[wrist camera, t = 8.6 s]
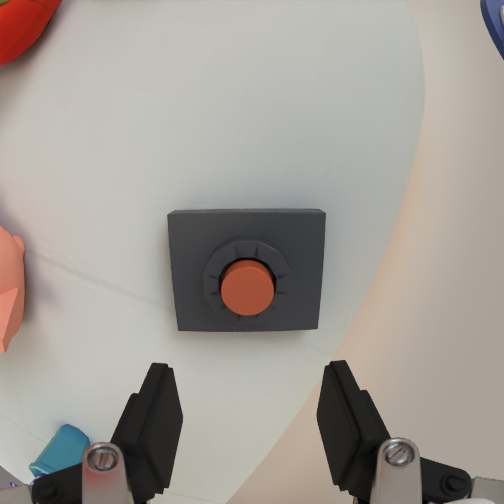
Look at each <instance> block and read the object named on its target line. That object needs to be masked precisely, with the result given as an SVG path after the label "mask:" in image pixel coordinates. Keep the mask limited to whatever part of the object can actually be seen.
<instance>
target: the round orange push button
mask: <svg viewBox="0 0 504 504" xmlns="http://www.w3.org/2000/svg"><path fill="white" fill-rule="evenodd" d="M273 295H274V287H273V282H272V278H271V275H270V273H269V271H268V270H267V268H266V267H265V266H264V265H262V264H261V263H259V262H257V261H253V260H242V261H238V262H236V263H234V264H232V265H231V266H230V267H229V268H228V269H227V271H226V272H225V274H224V277H223V281H222V286H221V296H222V299H223V301H224V303H225V305H226V306H227V307H228V308H229V309H230V310H232V311H233V312H235V313H237V314H240V315H255V314H258V313H260V312H262V311H263V310H265V309H266V308H267V307H268V306H269V304H270V303H271V301H272V299H273Z"/></svg>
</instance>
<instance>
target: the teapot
mask: <svg viewBox="0 0 504 504" xmlns="http://www.w3.org/2000/svg"><path fill="white" fill-rule="evenodd" d="M24 253H25V247H24V243H23V241H22V239H21V238H20V237H19V236H17V235H15V236H12V235H11V234H10V233H9V232H8V231H7V230H6V229H5V228H3V227H2V226H1V225H0V351H1V352H3V353H5V352H6V350H7V347H8V345H9V342H10V340H11V337H13V336H14V335H15V334H16V333H17V332H18V330H19V328H20V325H21V321H22V318H23V313H24V294H25V286H24V264H23V256H24Z"/></svg>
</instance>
